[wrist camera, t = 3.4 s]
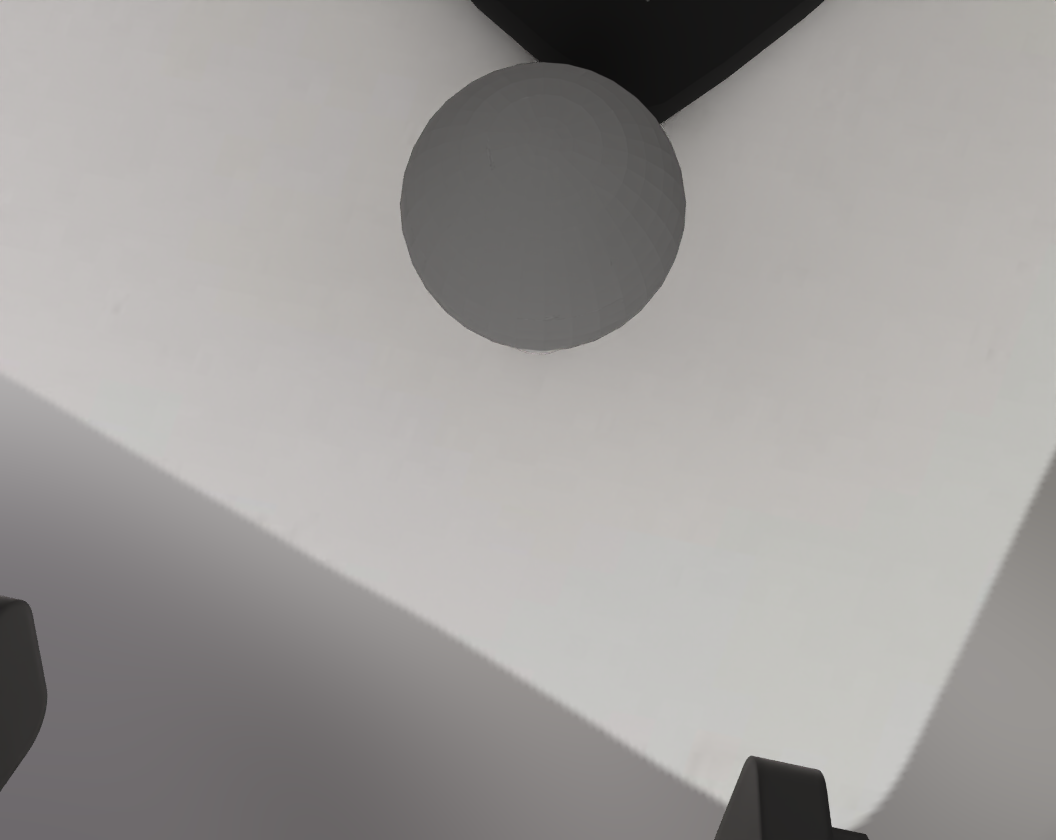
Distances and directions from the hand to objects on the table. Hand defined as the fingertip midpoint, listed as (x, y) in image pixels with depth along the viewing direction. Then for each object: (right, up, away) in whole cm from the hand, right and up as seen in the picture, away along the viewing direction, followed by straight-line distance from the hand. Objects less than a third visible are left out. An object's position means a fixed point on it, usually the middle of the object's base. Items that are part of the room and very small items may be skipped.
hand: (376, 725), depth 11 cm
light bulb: (+2, +6, +17) cm, 18 cm away
